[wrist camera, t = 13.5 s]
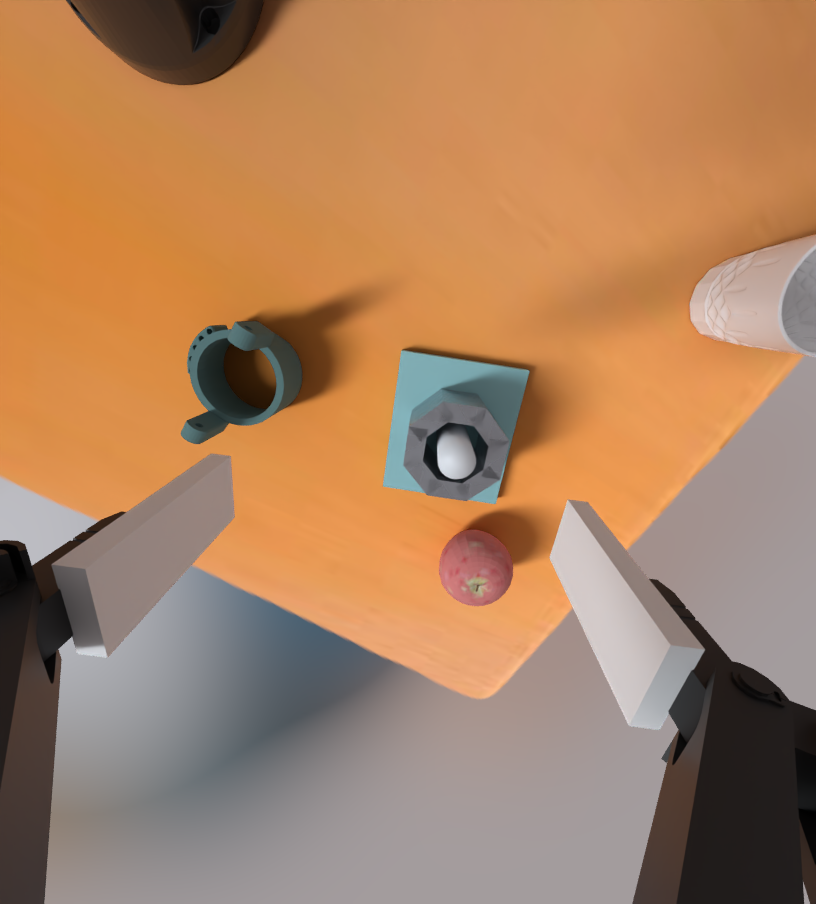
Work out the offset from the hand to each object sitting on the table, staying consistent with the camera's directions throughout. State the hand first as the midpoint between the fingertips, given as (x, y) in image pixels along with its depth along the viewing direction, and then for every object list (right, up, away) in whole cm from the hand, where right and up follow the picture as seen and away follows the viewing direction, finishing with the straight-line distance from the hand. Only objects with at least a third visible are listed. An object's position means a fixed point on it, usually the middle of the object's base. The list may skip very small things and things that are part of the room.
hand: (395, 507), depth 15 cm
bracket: (-14, +11, +23) cm, 29 cm away
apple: (+8, -8, +28) cm, 31 cm away
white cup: (+29, +16, +18) cm, 38 cm away
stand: (+5, +5, +24) cm, 24 cm away
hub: (+5, +4, +22) cm, 23 cm away
